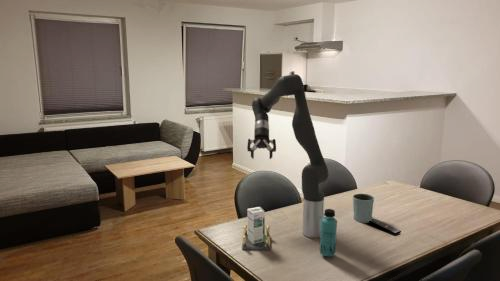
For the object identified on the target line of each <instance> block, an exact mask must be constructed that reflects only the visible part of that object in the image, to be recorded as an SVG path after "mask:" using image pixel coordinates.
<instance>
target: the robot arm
mask: <svg viewBox="0 0 500 281" xmlns="http://www.w3.org/2000/svg"><path fill="white" fill-rule="evenodd" d="M303 82H304V81H303V79H302V78H301V76H300V75H299V74H289V75H283V76H280V77H278V79H277V80H276V81H275V83H274V84H273V86H272V87H271V89H270V90H269V91H268V92H267V93H265V94H264V95H263V96H262V97H255V98H254V99H253V100H252V102H251V107H252V111H253V116H254V127H253V129H254V131H253V132H254V133H253V134H254V135H253V138H254V139H250V138H248V139H247V146H246V148H247V150H246V151H247V152H249V153H250V158H251V159H252V160H254V159H255V158H254V156H255V154H254V153H255V151H257V149H259V150H260V149H264V150H265V149H266V150H267V151H269V160H271V159H272V158H273V153H274V152H277V144H276V141H277V140H276V139H275V138H273V139H270V124H269V122H270V121H269V115H268V113H270V111H271V110H272V108H273V106H275V105H276V104H277V103H279V101H280V98H281V97H289V96H294V100H295V110H294V113H293V118H292V120H291V121H292V122H291V127H292V129H293V131H292V132H293V135H294V138H295V140H296V142H298V144H299V146H301V147H302V148H303V149H304V151H305V153H306V154H307V156H308V159H309V162H310V164H308V165H306V166H304V167H303V169H302V171H301V192H302V195H303V202H302V203H303V204H302V235H303V236H305V237H307V238H313V239H317V238H319V239H320V238H321V237H320V236H321V220H322V219H323V218H324V217H325V215H324V213H325V209H324V208H325V207H324V205H325V193H324V192H323V191H322V190H320V189H319V184H322V183H325V182H326V181H328V178H329V170H328V167H327V163H326V161H325V158H324V156H323V154H322V152H321V148H320V145H319V141H318V139H317V135H316V131H315V127H314V124H313V123H314V122H313V121H312V117H311V113H310V109H309V108H308V107H309V106H308V102H307V97H306V92H305V87H304V86H305V85H304V83H303ZM270 144H271V145H272V147H271V145H270ZM251 145H253V146H252V147H251Z"/></svg>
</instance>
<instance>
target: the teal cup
mask: <svg viewBox="0 0 500 281" xmlns="http://www.w3.org/2000/svg"><path fill="white" fill-rule="evenodd" d="M374 201H375V197H374V196H373V195H371V194H367V193H355V194H353V195H352V202H353V203H352V207H353V219H354V221H355V222H357V223H363V224H365V223H366V224H368V223H370V222H369V221H370V220H371V221H372V218H373V209H374Z"/></svg>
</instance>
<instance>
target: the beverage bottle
mask: <svg viewBox="0 0 500 281" xmlns="http://www.w3.org/2000/svg"><path fill="white" fill-rule="evenodd" d="M335 211H336V210H334V209H332V208H327V209H324V212H323V213H324V218H323V219H322V220H321V236H320V237H321V238H320V237H319V239H320V240H319V254H321V255H322V256H324V257H333V256H335V254H336V252H337V228H338V220H337V219H336V218H335V216H336V214H335V213H336V212H335Z"/></svg>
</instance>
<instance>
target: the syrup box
mask: <svg viewBox="0 0 500 281" xmlns="http://www.w3.org/2000/svg"><path fill="white" fill-rule="evenodd" d="M246 212H247V234H248V239H249V241H250V242H251V243H252V244H255V243H260V242H264V241H265V235H266V234H265V233H266V231H265V228H266V225H265V222H266V221H265V217H266V216H265V213H266V212H265V210H264V209H263V208H262V207H261V206H256V207H251V208H247V211H246Z"/></svg>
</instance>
